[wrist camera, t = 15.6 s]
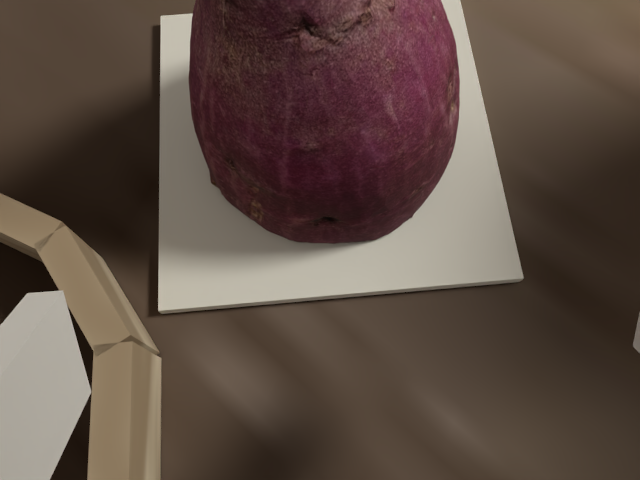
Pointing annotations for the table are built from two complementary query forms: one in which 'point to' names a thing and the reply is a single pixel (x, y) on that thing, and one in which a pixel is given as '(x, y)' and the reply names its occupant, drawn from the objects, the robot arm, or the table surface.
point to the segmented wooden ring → (100, 345)
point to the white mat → (323, 258)
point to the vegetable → (324, 110)
